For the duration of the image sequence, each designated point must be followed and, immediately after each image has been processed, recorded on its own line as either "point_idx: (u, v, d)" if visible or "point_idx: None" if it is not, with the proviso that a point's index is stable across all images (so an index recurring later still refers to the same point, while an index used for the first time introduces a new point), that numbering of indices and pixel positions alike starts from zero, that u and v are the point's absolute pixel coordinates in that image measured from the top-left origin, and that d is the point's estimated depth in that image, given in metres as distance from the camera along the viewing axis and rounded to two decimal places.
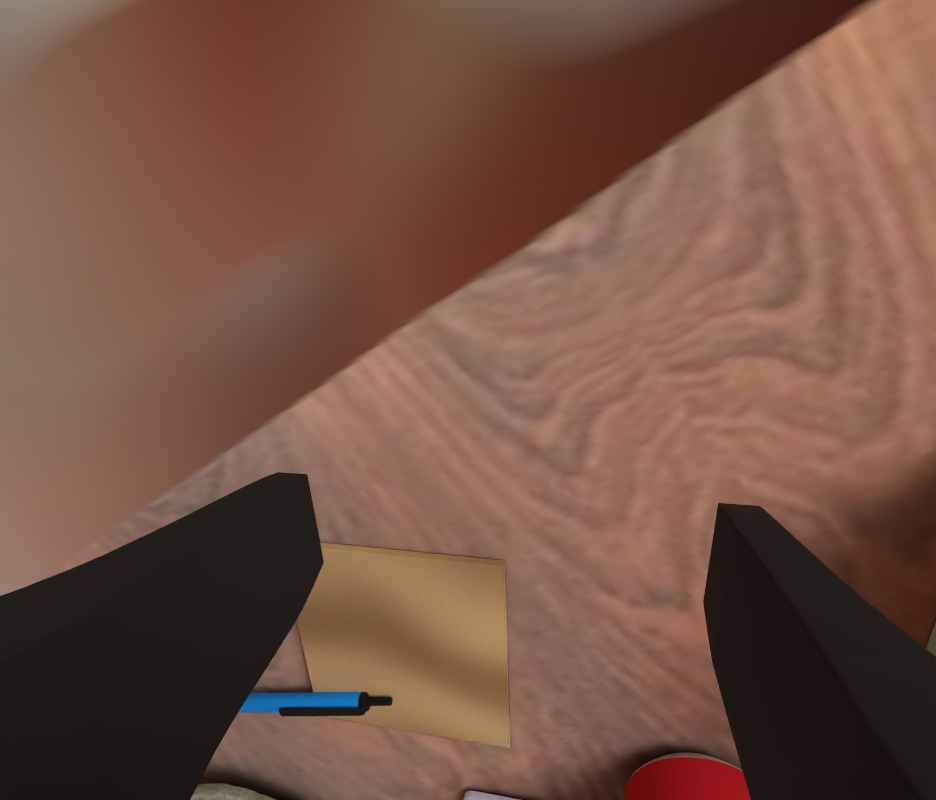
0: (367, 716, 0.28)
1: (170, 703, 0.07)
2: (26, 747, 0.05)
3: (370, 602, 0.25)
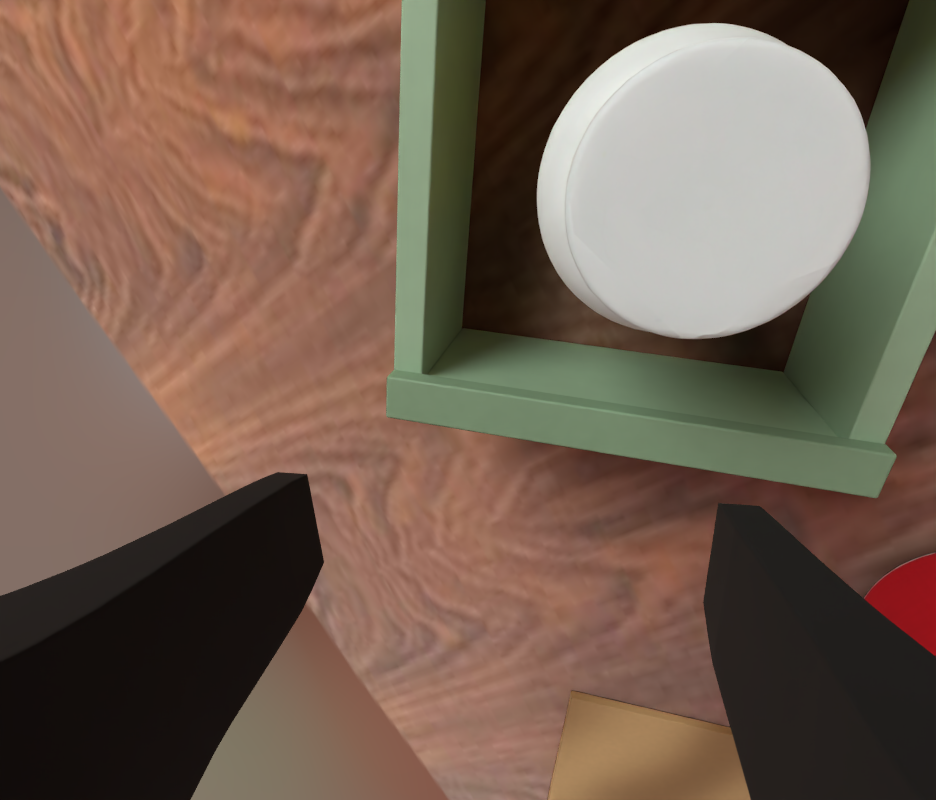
0: None
1: (170, 703, 0.07)
2: (28, 747, 0.05)
3: (609, 796, 0.27)
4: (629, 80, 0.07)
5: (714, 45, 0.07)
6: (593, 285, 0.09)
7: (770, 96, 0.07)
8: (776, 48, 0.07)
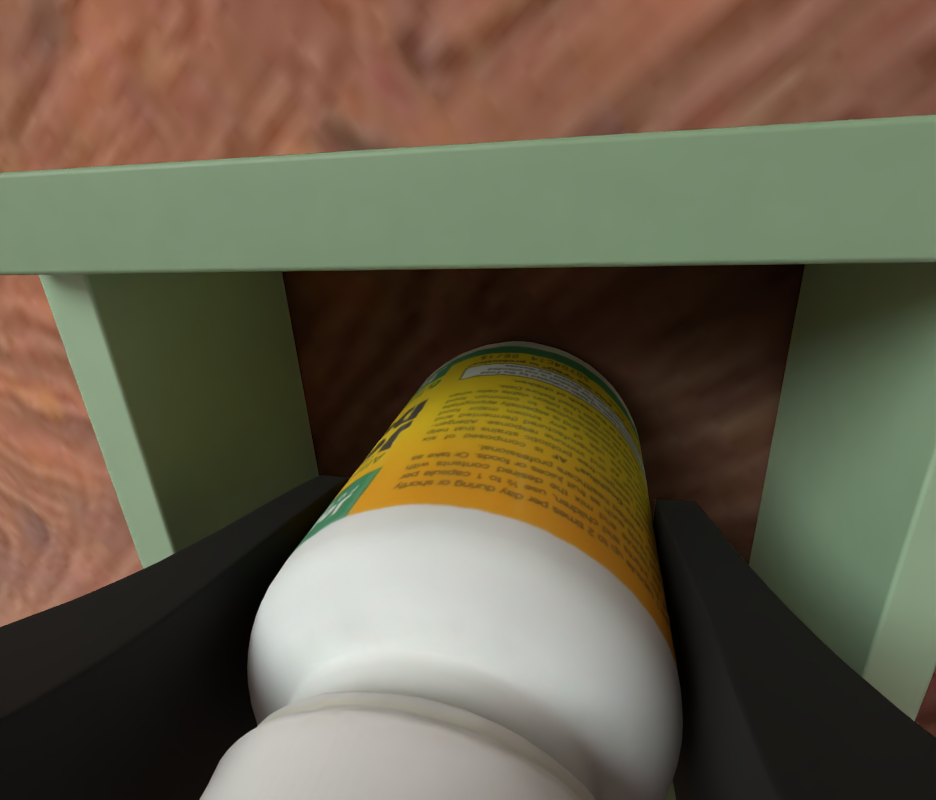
0: None
1: (228, 713, 0.07)
2: (101, 762, 0.05)
3: None
4: None
5: None
6: None
7: None
8: None
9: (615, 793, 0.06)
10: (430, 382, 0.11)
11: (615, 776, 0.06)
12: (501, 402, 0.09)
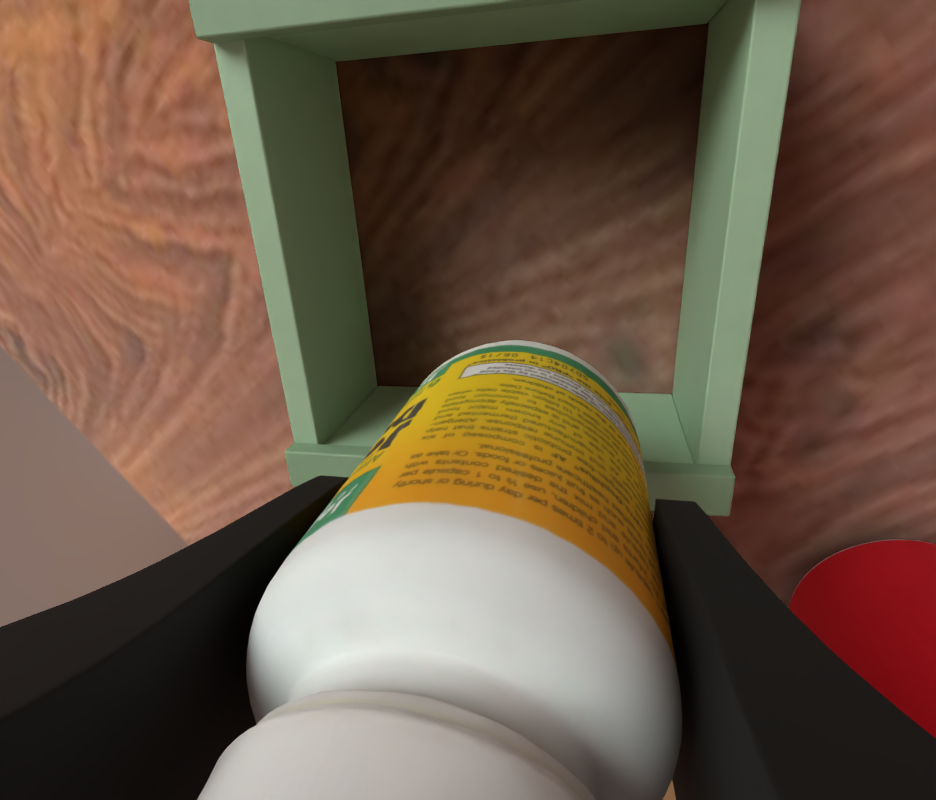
0: None
1: (228, 713, 0.07)
2: (101, 762, 0.05)
3: None
4: None
5: None
6: None
7: None
8: None
9: (614, 792, 0.06)
10: (429, 381, 0.11)
11: (614, 775, 0.06)
12: (500, 401, 0.09)
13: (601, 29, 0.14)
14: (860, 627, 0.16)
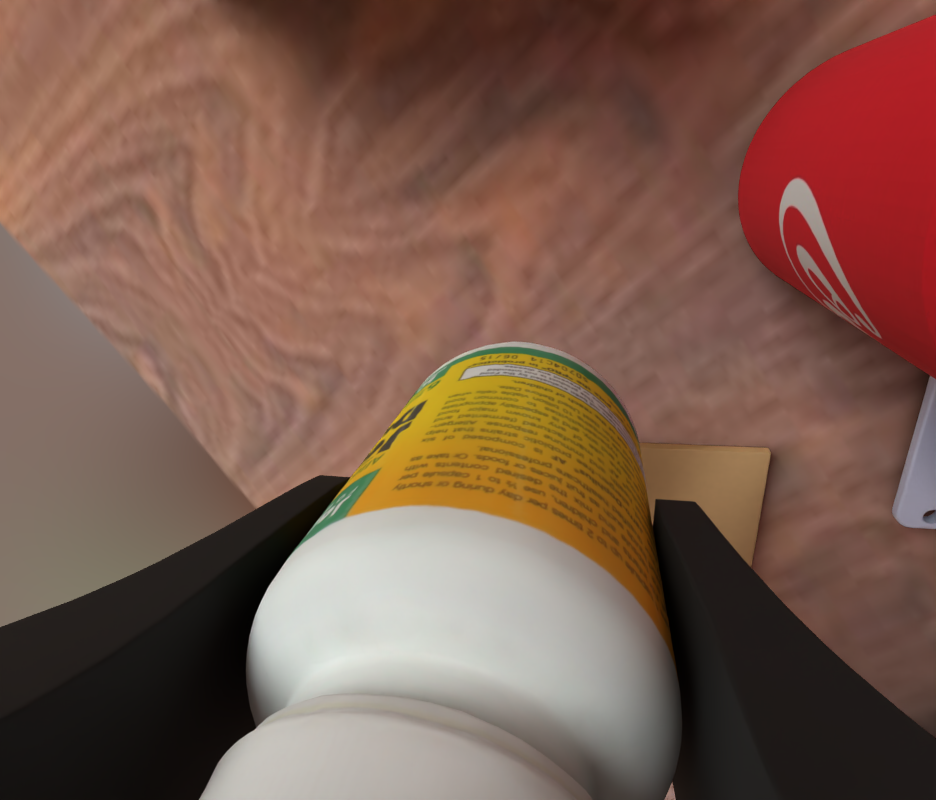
0: None
1: (228, 713, 0.07)
2: (101, 763, 0.05)
3: None
4: None
5: None
6: None
7: None
8: None
9: (614, 795, 0.06)
10: (429, 383, 0.11)
11: (614, 778, 0.06)
12: (500, 403, 0.09)
13: None
14: (822, 87, 0.12)
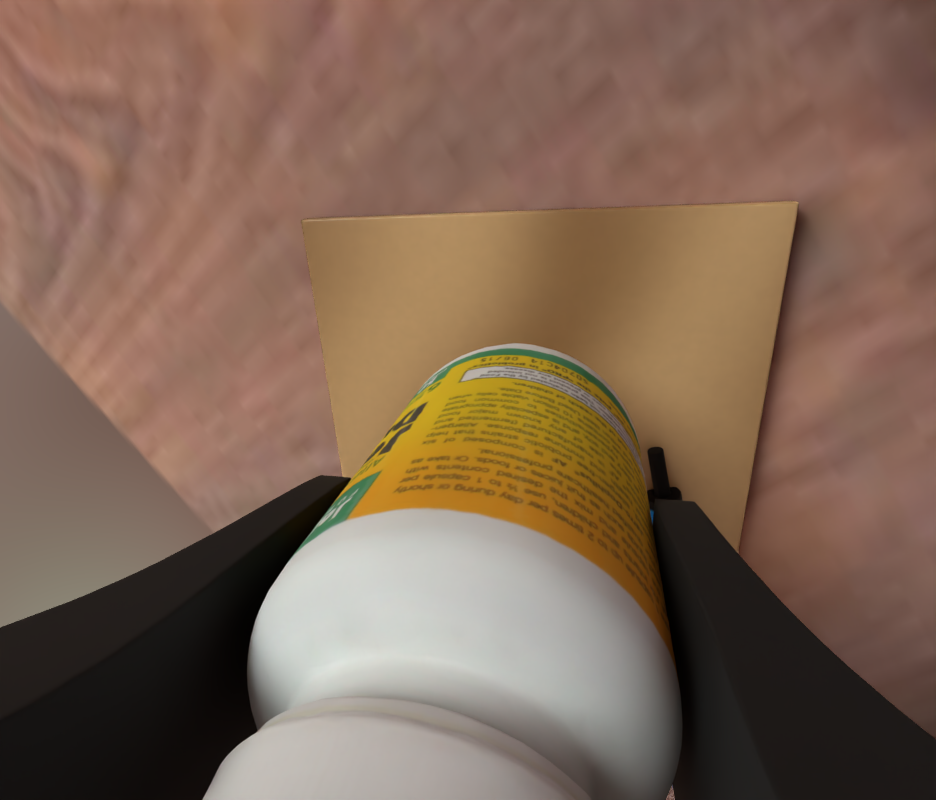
0: (720, 501, 0.14)
1: (228, 713, 0.07)
2: (101, 763, 0.05)
3: None
4: None
5: None
6: None
7: None
8: None
9: (615, 798, 0.06)
10: (429, 384, 0.11)
11: (615, 781, 0.06)
12: (501, 405, 0.09)
13: None
14: None
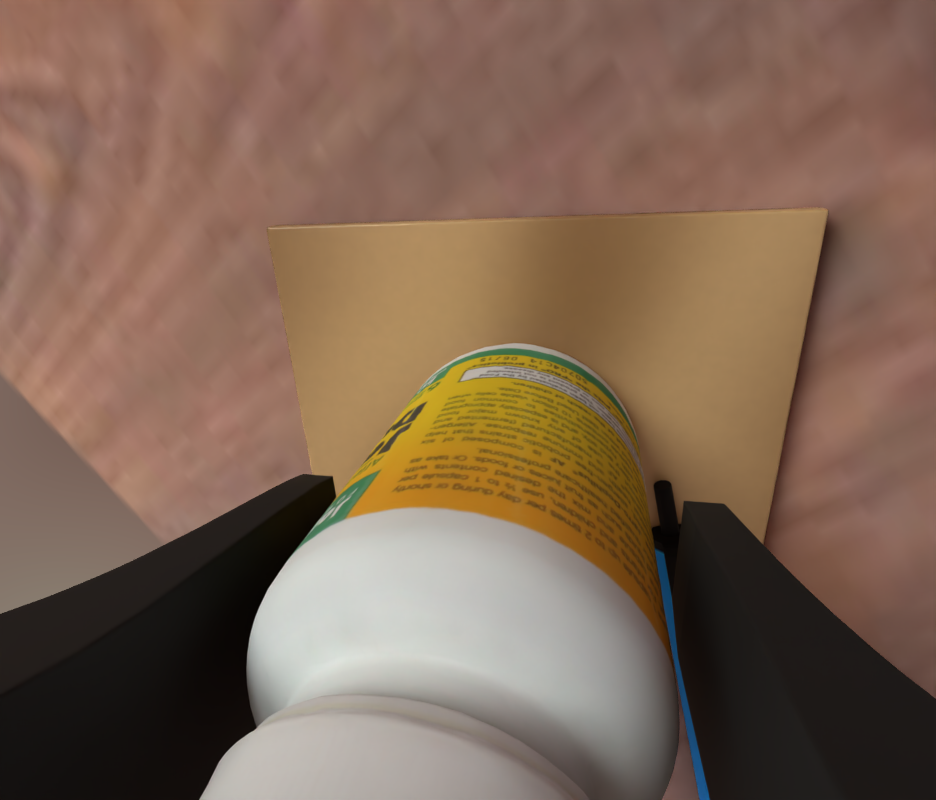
0: None
1: (204, 709, 0.07)
2: (70, 756, 0.05)
3: None
4: None
5: None
6: None
7: None
8: None
9: (612, 795, 0.06)
10: (429, 384, 0.11)
11: (612, 779, 0.06)
12: (500, 405, 0.09)
13: None
14: None
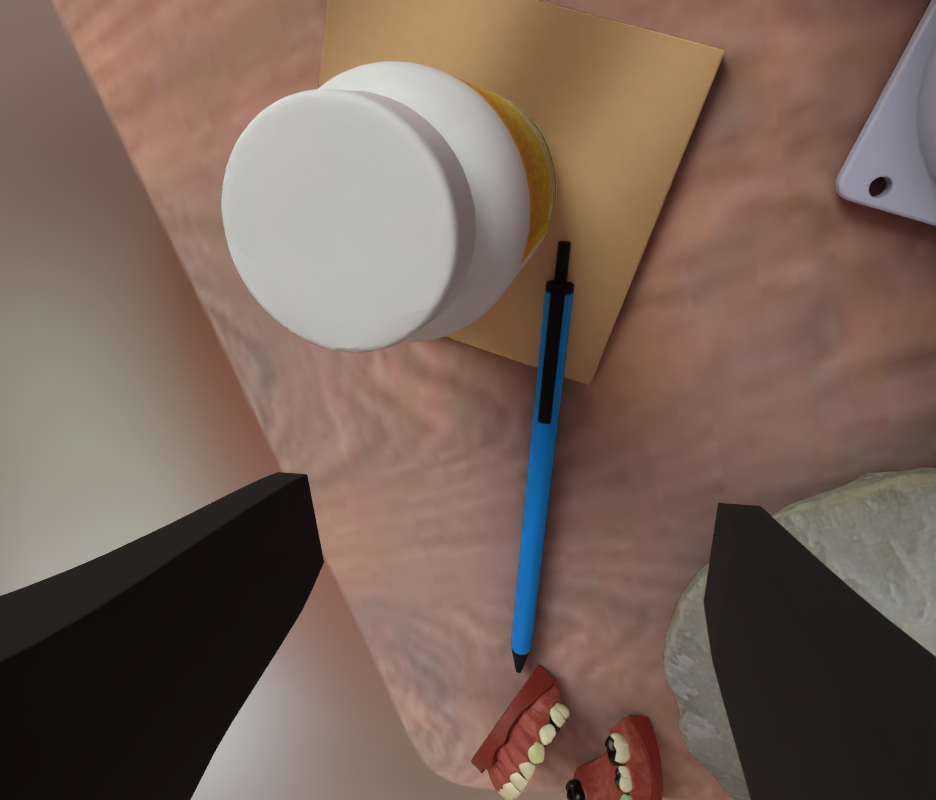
0: (601, 303, 0.18)
1: (170, 703, 0.07)
2: (27, 747, 0.05)
3: None
4: (264, 110, 0.08)
5: (326, 95, 0.08)
6: (250, 286, 0.09)
7: (373, 150, 0.08)
8: (375, 109, 0.08)
9: (477, 242, 0.10)
10: None
11: (480, 230, 0.10)
12: None
13: None
14: None
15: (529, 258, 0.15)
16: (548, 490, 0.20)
